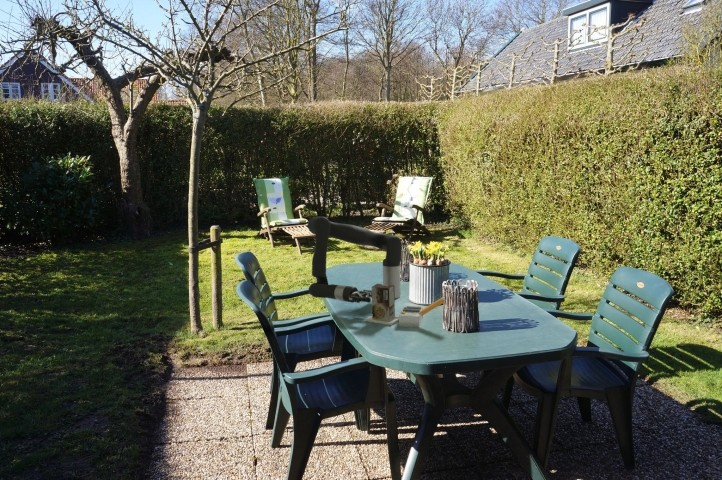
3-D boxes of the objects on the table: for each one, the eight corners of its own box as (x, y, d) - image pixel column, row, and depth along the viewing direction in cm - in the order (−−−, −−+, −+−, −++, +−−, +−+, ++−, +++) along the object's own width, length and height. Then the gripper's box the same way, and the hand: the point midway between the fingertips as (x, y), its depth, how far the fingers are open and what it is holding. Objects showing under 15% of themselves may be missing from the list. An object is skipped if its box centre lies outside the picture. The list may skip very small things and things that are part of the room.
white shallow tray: (377, 315, 269) (377, 312, 269) (402, 319, 262) (402, 317, 261) (365, 321, 260) (365, 318, 260) (391, 325, 253) (391, 323, 253)
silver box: (403, 317, 265) (403, 305, 264) (422, 318, 263) (422, 306, 262) (398, 326, 252) (398, 313, 251) (419, 327, 250) (419, 314, 249)
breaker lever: (420, 310, 254) (449, 292, 250) (422, 314, 254) (452, 296, 250) (419, 312, 251) (449, 294, 247) (421, 316, 251) (451, 297, 247)
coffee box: (395, 318, 262) (395, 284, 259) (389, 322, 256) (389, 288, 253) (377, 316, 266) (377, 283, 263) (371, 320, 260) (371, 286, 257)
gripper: (337, 289, 264) (367, 293, 255) (354, 282, 276) (382, 286, 267) (337, 304, 265) (367, 309, 257) (354, 297, 277) (383, 302, 268)
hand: (375, 298), depth 262 cm, fingers open, 8 cm apart
